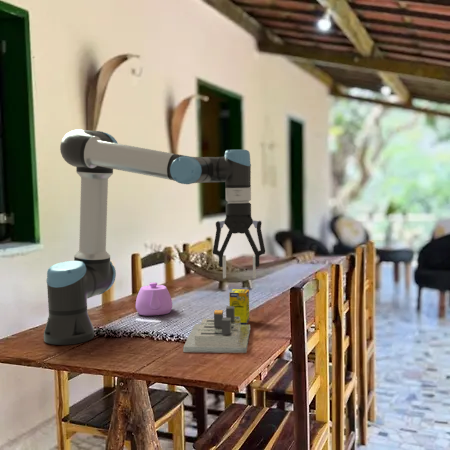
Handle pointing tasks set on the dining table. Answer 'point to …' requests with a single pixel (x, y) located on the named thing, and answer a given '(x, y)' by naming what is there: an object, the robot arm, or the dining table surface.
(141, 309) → the teapot
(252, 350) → the dining table surface
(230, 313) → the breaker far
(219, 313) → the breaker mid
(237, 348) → the panel
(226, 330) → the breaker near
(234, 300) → the supplement box
